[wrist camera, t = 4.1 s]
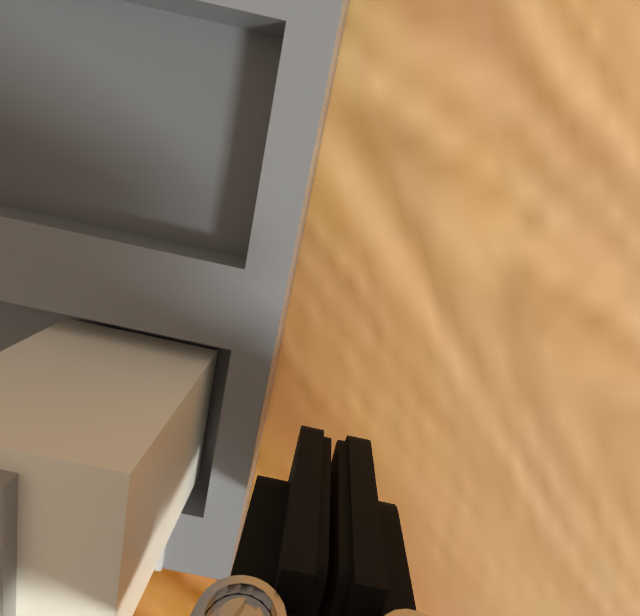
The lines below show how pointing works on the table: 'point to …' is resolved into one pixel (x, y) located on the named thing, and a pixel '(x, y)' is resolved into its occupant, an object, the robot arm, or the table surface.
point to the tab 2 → (94, 464)
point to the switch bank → (167, 198)
